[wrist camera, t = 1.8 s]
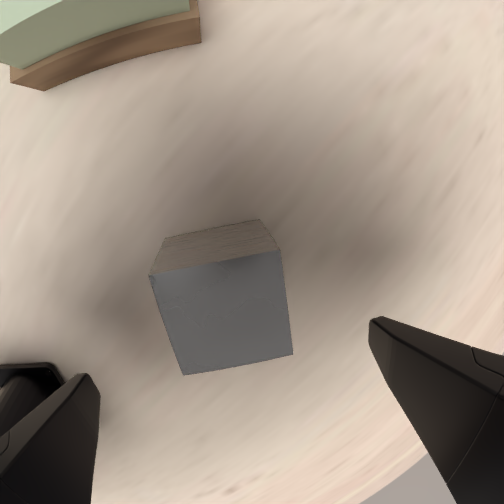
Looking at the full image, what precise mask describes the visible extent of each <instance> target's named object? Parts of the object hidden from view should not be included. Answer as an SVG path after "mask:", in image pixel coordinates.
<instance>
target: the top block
mask: <svg viewBox="0 0 504 504" xmlns="http://www.w3.org/2000/svg"><path fill="white" fill-rule="evenodd" d="M187 11H190V6H189V0H0V63H4V64H7V65H10V66H13V67H16V68H19V69H21V70H23V69H25V68H26V67H28V66H30V65H32V64H34V63H36V62H38V61H40V60H42V59H44V58H46V57H48V56H51V55H53V54H55V53H57V52H59V51H62V50H64V49H66V48H68V47H71V46H73V45H76V44H78V43H81V42H83V41H86V40H88V39H91V38H94V37H96V36H99V35H102V34H105V33H108V32H111V31H114V30H117V29H120V28H123V27H126V26H130V25H133V24H136V23H140V22H144V21H147V20H151V19H155V18H159V17H164V16H168V15H172V14H177V13H182V12H187Z"/></svg>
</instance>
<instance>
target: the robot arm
mask: <svg viewBox="0 0 504 504" xmlns="http://www.w3.org/2000/svg"><path fill="white" fill-rule="evenodd" d="M368 342H369V346H370V349H371V351H372V353H373V355H374V357H375V359H376V361H377V364H378V366H379V368H380V370H381V372H382V374H383V376H384V379H385V381H386V383H387V384H388V386H389V388H390V390H391V391H392V393H393V394H394V396H395V398H396V399H397V401H398V402H399V404H400V406H401V407H402V409H403V411H404V412H405V414H406V416H407V417H408V419H409V421H410V422H411V424H412V426H413V427H414V429H415V431H416V432H417V434H418V436H419V437H420V439H421V441H422V442H423V444H424V446H425V448H426V449H427V451H428V453H429V454H430V456H431V457H432V460H433V461H434V463H435V465H436V467H437V468H438V470H439V472H440V474H441V475H442V477H443V479H444V481H445V482H446V483H447V484H446V485H447V487H448V488H449V490H450V492H451V494H452V495H453V497H454V499H455V501H456V503H457V504H504V356H503V355H499V354H495V353H491V352H488V351H485V350H481V349H478V348H475V347H471V346H469V345H466V344H463V343H460V342H457V341H454V340H451V339H448V338H445V337H442V336H439V335H436V334H433V333H430V332H427V331H424V330H421V329H419V328H416V327H413V326H410V325H407V324H404V323H401V322H398V321H395V320H392V319H389V318H386V317H383V316H380V317H376V318H373V319H371V320H370V322H369V338H368ZM49 371H50V372H49ZM99 412H100V393H99V391H98V389H97V387H96V385H95V384H94V382H93V380H92V378H91V377H90V375H89V374H87V373H82V374H76V375H75V376H74V377H72V378H71V379H70V380H69V381H68V382H66V383H65V384H64V382H63V380H62V379H61V377H60V375H59V373H58V372H57V370H56V368H55V367H54V366H53V365H51V364H49V363H43V364H24V365H0V504H91V494H92V483H93V474H94V465H95V457H96V449H97V442H98V432H99Z"/></svg>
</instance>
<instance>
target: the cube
mask: <svg viewBox="0 0 504 504" xmlns="http://www.w3.org/2000/svg"><path fill="white" fill-rule="evenodd" d="M149 279H150V282H151V285H152V288H153V291H154V295H155V298H156V301H157V304H158V307H159V310H160V313H161V316H162V319H163V322H164V325H165V328H166V331H167V333H168V336H169V339H170V342H171V345H172V347H173V350H174V353H175V355H176V358H177V361H178V363H179V366H180V368H181V371H182V374H183V375H190V374H197V373H203V372H209V371H215V370H220V369H226V368H231V367H237V366H242V365H247V364H252V363H257V362H262V361H266V360H271V359H275V358H280V357H284V356H288V355H293V348H292V339H291V331H290V323H289V315H288V307H287V299H286V292H285V284H284V276H283V269H282V262H281V254H280V249H279V247H278V246H277V244H276V243H275V241H274V240H273V238H272V237H271V236H270V234H269V233H268V231H267V230H266V228H265V227H264V225H263V224H262V222H261V221H260V219H259V220H254V221H248V222H243V223H238V224H233V225H228V226H223V227H218V228H213V229H208V230H203V231H198V232H193V233H188V234H183V235H178V236H173V237H169V238H165V240H164V242H163V244H162V246H161V248H160V251H159V253H158V255H157V257H156V260H155V262H154V264H153V266H152V269H151V271H150V273H149Z"/></svg>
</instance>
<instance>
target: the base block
mask: <svg viewBox="0 0 504 504" xmlns="http://www.w3.org/2000/svg"><path fill="white" fill-rule="evenodd" d="M189 6H190V11H187V12H182V13H177V14H172V15H168V16H164V17H159V18H155V19H151V20H147V21H144V22H140V23H136V24H133V25H130V26H126V27H123V28H120V29H117V30H114V31H111V32H108V33H105V34H102V35H99V36H96V37H94V38H91V39H88V40H86V41H83V42H81V43H78V44H76V45H73V46H71V47H68V48H66V49H64V50H62V51H59V52H57V53H55V54H53V55H51V56H48V57H46V58H44V59H42V60H40V61H38V62H36V63H34V64H32V65H30V66H28V67H26V68H25V69H23V70H21V69H19V68H16V67H13V66H10V83H13V84H17V85H21V86H25V87H29V88H33V89H37V90H41V91H46V90H48V89H50V88H53V87H55V86H57V85H60V84H62V83H64V82H67V81H69V80H72V79H74V78H77V77H79V76H82V75H84V74H87V73H90V72H93V71H95V70H98V69H101V68H104V67H107V66H110V65H113V64H116V63H119V62H123V61H126V60H129V59H133V58H136V57H140V56H143V55H147V54H151V53H155V52H159V51H163V50H167V49H172V48H176V47H181V46H186V45H191V44H196V43H201V32H200V17H199V11H198V5H197V0H189Z"/></svg>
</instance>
